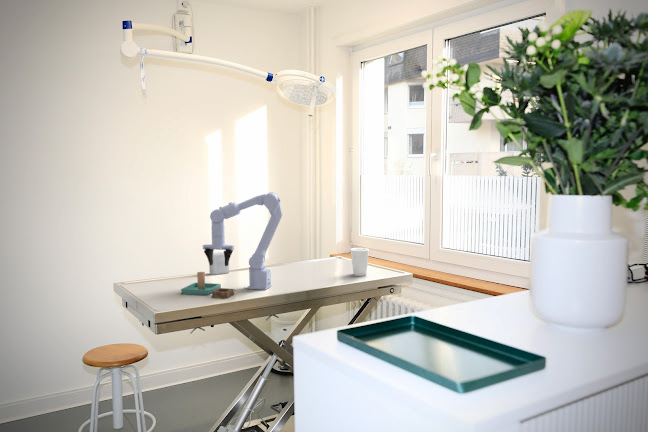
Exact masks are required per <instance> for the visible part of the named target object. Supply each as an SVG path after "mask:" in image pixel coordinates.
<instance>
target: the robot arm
mask: <svg viewBox="0 0 648 432" xmlns="http://www.w3.org/2000/svg"><path fill="white" fill-rule="evenodd" d="M281 203H282V202H281V199H280V197H279V195H278V194H277V193H275V192H268V193H262V194H260V195H257V196H254V197H251V198H249V199H247V200H244V201H242V202H240V203H238V202H237V203H236V202H228V205H227V204H226V205H224V206H219V207H218V208H217V209H214V210H212V212H210V215H209V218H210V220H211V244H203V245H202V250H204V251H203V252H204V254H205V257H206V258H207V261H208V264H209V265H213V251H215V250H226V251H224V257H225V266H228V263H229V264H230V262H229V261H230V259H231V256H232V254H233V252H234V251H235V245H231V244H225V243H226V242H225V239H226V238H225V221H224V220H228V219H231V218H233V217H235V216H237V215H240V213H241V211H242V210H245V209H247V208H250V207H253V206H255V205H256V206H257V205H258V206H263V205H264V206H265V208H266V209H267V210H268V212H269V214H270V217H269V220H268V222H267V225H266V227H265V229H264V231H263V233H262V236H261V238H260V241H259V243H258V244H257V248H256V250H255V251H254V253H253V254H252V255H251V257H249V259H248V265H249V267H248V268H249V270H248V271H249V275H248V276H249V277H248V278H249V279H248V280H249V286H246V289H248V290H265V291H266V290H267V289H269V288H271V287H272V273H271V269H270V268H266V266H265V265H264V263H265V261H266V257H265V256H266V254H267V251H268V248H269V246H270V245H271V243H272V242H271V241H272V239H273V238H274V236H275V233H276V231H277V229H278V226H279V224H280V221H281V219H282V217H283V209H282V204H281Z"/></svg>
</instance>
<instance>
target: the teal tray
mask: <svg viewBox="0 0 648 432" xmlns="http://www.w3.org/2000/svg"><path fill="white" fill-rule="evenodd" d="M218 288H222V284H221V283H213V282H212V283H211V282H205V290H200V289H198V282H193V283H191V284H189V285H187V286H185V287H182V288H181V290H180V292H181V295H194V296H196V295H197V296H210V295H212V292H213V291H214V290H216V289H218Z"/></svg>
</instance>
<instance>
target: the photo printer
mask: <svg viewBox="0 0 648 432" xmlns="http://www.w3.org/2000/svg"><path fill="white" fill-rule="evenodd" d="M224 251H226V250H216V249H214V250H213V265H209V266H208V267H209V270H208V271H209V275H210V276H212V275H213V276H214V275H223V274H229V273H230V262H229V263H228V266H225V257H224Z"/></svg>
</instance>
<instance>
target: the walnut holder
mask: <svg viewBox="0 0 648 432" xmlns="http://www.w3.org/2000/svg"><path fill="white" fill-rule="evenodd" d="M234 295H235V289H234V288H227V287H226V288H223V287H221V288H218V289H216V290H214V291H213V292H212V294H211V297H212V298H215V299H229V298H231V297H232V296H234Z"/></svg>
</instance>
